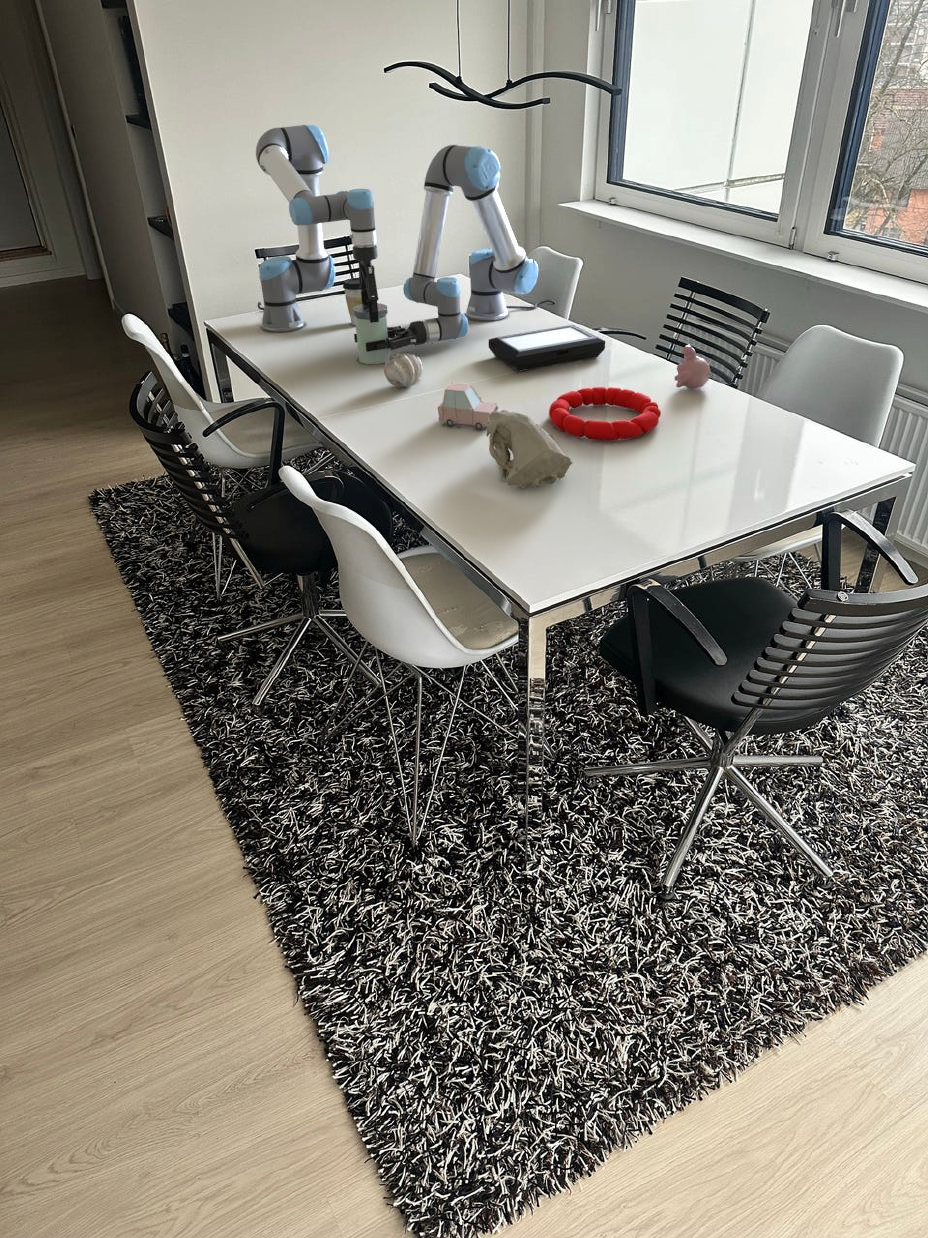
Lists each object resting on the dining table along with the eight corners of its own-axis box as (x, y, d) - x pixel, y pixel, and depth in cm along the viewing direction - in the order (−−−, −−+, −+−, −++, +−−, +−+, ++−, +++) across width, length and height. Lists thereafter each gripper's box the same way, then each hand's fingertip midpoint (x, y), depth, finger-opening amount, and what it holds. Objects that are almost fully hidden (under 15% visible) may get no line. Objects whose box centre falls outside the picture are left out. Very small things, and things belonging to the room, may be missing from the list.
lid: (362, 320, 279) (361, 314, 278) (347, 312, 287) (346, 306, 286) (393, 314, 283) (393, 308, 282) (378, 306, 291) (377, 300, 290)
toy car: (488, 432, 240) (488, 396, 234) (436, 426, 244) (434, 390, 239) (499, 419, 247) (499, 384, 241) (448, 413, 252) (447, 379, 246)
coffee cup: (372, 326, 323) (368, 283, 314) (345, 327, 323) (340, 284, 315) (374, 318, 331) (371, 276, 322) (348, 319, 331) (344, 277, 323)
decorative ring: (589, 435, 224) (684, 402, 234) (527, 398, 247) (617, 369, 256) (589, 461, 229) (683, 427, 238) (529, 422, 251) (617, 393, 260)
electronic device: (516, 354, 273) (488, 336, 289) (516, 374, 277) (488, 355, 292) (605, 338, 284) (574, 322, 299) (604, 357, 287) (573, 341, 302)
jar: (378, 352, 299) (373, 303, 290) (395, 359, 293) (392, 309, 284) (353, 359, 294) (348, 309, 285) (370, 366, 288) (366, 316, 278)
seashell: (376, 385, 272) (373, 353, 266) (419, 376, 278) (418, 344, 272) (390, 395, 265) (387, 362, 259) (434, 385, 270) (433, 353, 265)
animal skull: (496, 517, 219) (521, 479, 201) (463, 429, 225) (484, 384, 207) (557, 503, 225) (586, 465, 206) (523, 417, 231) (549, 373, 212)
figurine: (665, 387, 264) (669, 347, 257) (693, 380, 268) (698, 340, 261) (686, 396, 257) (690, 355, 250) (714, 388, 262) (720, 348, 255)
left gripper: (345, 238, 282) (352, 307, 294) (359, 254, 263) (366, 328, 275) (369, 236, 284) (374, 305, 296) (384, 252, 264) (389, 325, 277)
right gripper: (437, 352, 290) (373, 364, 282) (410, 334, 307) (349, 344, 299) (436, 329, 285) (371, 340, 278) (409, 312, 302) (347, 322, 295)
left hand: (370, 316), depth 286 cm, fingers open, 12 cm apart
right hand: (360, 342), depth 288 cm, fingers closed on jar, 10 cm apart
